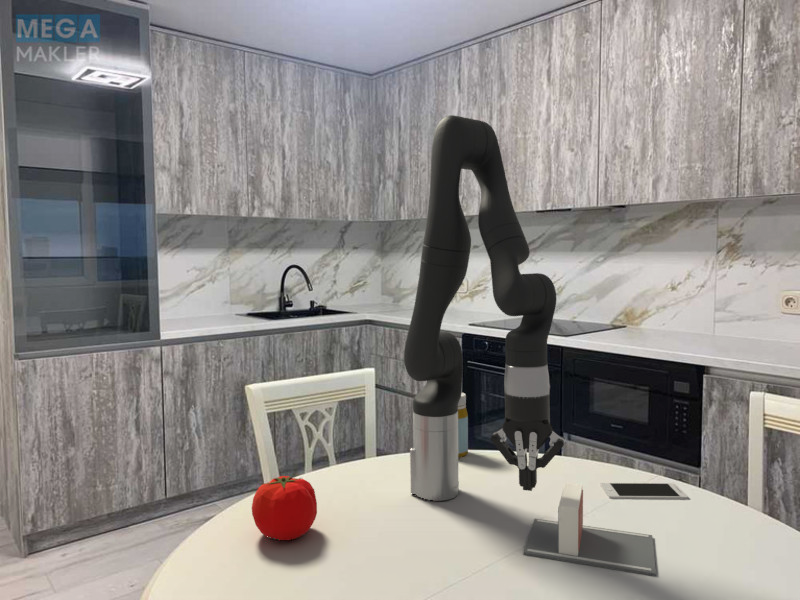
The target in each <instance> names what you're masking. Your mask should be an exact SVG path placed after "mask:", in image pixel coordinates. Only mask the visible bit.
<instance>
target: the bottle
mask: <svg viewBox="0 0 800 600" xmlns="http://www.w3.org/2000/svg"><path fill="white" fill-rule="evenodd" d="M466 400H467V395H466V393H464V392H462V393H461V398H460V400H459V403H458V459H460V458H459V457H461V458H464V457H466V455H468V453H469V439H468V438H469V418H468V417H469V415H468V411H467V410H468V409H467V408H466V407H467V405H466V403H467V401H466Z"/></svg>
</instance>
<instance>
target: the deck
mask: <svg viewBox="0 0 800 600" xmlns="http://www.w3.org/2000/svg"><path fill="white" fill-rule="evenodd" d="M557 508H558V510H557V511H558V512H557V514H558V516H557V518H558V521H557V522H558V548H559V553H561V554H567V555H573V556H578V552H579V548H580V542H581V536H582V529H583V525H584V519H583V518H584V490H583V484H576V483H570V482H569V483H568V482H564V486H563V488H562V491H561V496H560V500H559V504H558V507H557Z"/></svg>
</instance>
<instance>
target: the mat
mask: <svg viewBox="0 0 800 600" xmlns="http://www.w3.org/2000/svg"><path fill="white" fill-rule="evenodd" d="M522 554H523V555H525V556H531V557H538V558H543V559H548V560H549V559H550V560H554V561H555V560H556V561H561V562H568V563H573V564H579V565H586V566H592V567H599V568H604V569H610V570H611V569H612V570H617V571H622V572H629V573H635V574H641V575H645V576H653V577H656V576H657V573H656V560H655V549H654V539H653V535H652V534H647V533H639V532H631V531H624V530H617V529H612V528H605V527H598V526H597V527H596V526H592V525H591V526H590V525H584V524H583V529H582V536H581V542H580V548H579V552H578V556H573V555H567V554H561V553H559V548H558V521H554V520H548V519H540V518H534V519H533V521H532V524H531V527H530V531H529V535H528V537H527V539H526V542H525V545H524V549H523V552H522Z"/></svg>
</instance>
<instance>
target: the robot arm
mask: <svg viewBox="0 0 800 600" xmlns="http://www.w3.org/2000/svg"><path fill="white" fill-rule="evenodd" d="M498 140H499V139H498V137H497V135H496V132H495V130H494V128H493V127H492V126H491V124H489V123H487V122H486V121H482V120H479V119H474V118H470V117H469V118H467V117H465V116H458V115H454V114H453V115H447V116H445V117H443V118H442V119H441V120H439V122H438V124H437V126H436V129H435V131H434V134H433V138H432V145H431V158H430V178H429V179H430V183H429V185H430V186H429V198H428V205H427V206H428V208H427V217H426V223H425V224H426V226H425V231H424V237H423V241H422V249H421V255H420V256H421V257H420V268H419V274H418V282H417V289H416V294H415V299H414V300H415V301H414V307H413V311H412V315H411V320H410V322H409V328H408V331H407V336H406V340H405V345H404V353H403V361H404V368H405V371H406V372H407V375H408V376H409V377H410V378H412V380H414V381H417V382H426V383H425V385H424V387H423V388H422V390H420V391H419V392H418V393H417V394H416V395H415V396H414V397H413V399H412V427H413V430H412V431H413V434H412V435H413V437H412V438H413V442H412V443H413V447H411V448H410V451H409V457H410V458H409V459H410V463H409V464H410V466H409V467H410V472H409V473H410V494H411V493H412V494H416V495H417V496H416V495H415V496H416V497H418V496H419V497H421V498H420V499H422V498H424V499H423V500H425V499H428V500H427V501H430V500H433V501H432V502H443V501H448V500H451V499H454V498H456V497H457V496H458V495H459V492H460V491H459V485H460V484H459V483H460V481H459V458H458V403H459V400H460V398H461V393H462V391H463V390H462V389H463V372H464V371H463V370H464V369H463V368H464V365H463V363H464V358H463V357H464V356H463V350H462V346H461V344H460V341H459V340H458V338H457V337H456V336H455V335H454V334H452V333H451V332H447V331H441V327H442V324H443V323H442V322H443V319H444V316H445V314H446V312H447V309H448V307H449V306H450V304H451V303H452V300H454V298H455V296H456V295H457V293H458V292H459V290H460V289H461V288H460V287H461V286H462V285H463V282H464V281H465V278H466V275H467V271H468V268H469V262H470V255H471V248H472V236H471V232H470V229H469V225H468V223H467V220H466V216H465V214H464V211H463V208H462V204H461V201H460V184H461V183H460V179H461V174H462V172H461V171H462V170H467V171H470V170H471V172H472V173H473V175H474V176H475V178H476V181H477V182H478V185H479V189H480V204H479V210H478V218H477V221H478V223H477V224H478V230H479V233H480V236H481V240H482V242H483V245H484V248H485V251H486V253H487V256H488V258H489V261H490V274H491V283H492V284H491V286H492V293H493V299H494V301H495V304H496V306H497V307H498V309H499V310H500V311H501V312H502V313H503V314H504V315H505V316H506V315H507V316H509V317H519V316H520V317H522V318H521V322H520V325H518V327H516V328H514V329H511V330H510V331H508V332H507V334H506V336H505V342H504V343H505V345H504V346H505V347H504V348H505V349H504V351H505V367H504V368H505V370H504V381H503V382H504V422H503V424H502V426H501V429H499V430H498V431H497V430H495V431H494V432H493V434H492V435H491V436H490V440H491V442H492V443H493V445H494V446H495V447H496V448H497V450H498V451H499V452H500V454H501V455H502V457H503V458H504V459H505V460H506V461H507V463H508V464H509V465H510V466H516V467H517V469H518V484H519V486H520V487H522V490H523V491H527V492H528V491H529V492H532V491H533V489H534V488H536V485H537V484H538V483H537V482H538V479H537V478H538V477H537V476H538V474H537V473H538V469H539V468H542V469H544V468H546V467H547V465H549V463H550V462H551V461H552V460H553V459H554V457H555V456H556V455H557V454H558V452H560V450H562V448H564V445H565V442H566V439H565V437H564V436H560V435H558V434H557V433H556V432H555V431H554V428H553V427H554V426H553V425H552V422H551V417H550V413H551V412H550V411H551V410H550V406H551V405H550V390H551V384H550V374H549V366H548V338H549V335H550V331H551V329H552V323H553V319H554V315H555V311H556V306H557V291H556V287H555V285H554V283H553V281H552V279H551V278H550V277H549V276H548V275H546V274H543V273H540V272H539V273H537V272H536V273H521V272H520V269H519V266H520V265H522V264H523V263H525V262H526V261H527V260H528V258H529V256H530V254H531V253H530V246H529V244H528V241H527V239H526V236H525V234H524V231H523V229H522V226H521V224H520V221H519V219H518V216H517V214H516V210H515V209H514V206H513V201H512V198H511V194H510V191H509V186H508V181H507V177H506V172H505V168H504V162H503V159H502V153H501V149H500V144H499V141H498ZM507 438H508V439H509V441H510V442H511V444H512V445H513V447H515V449H516V453H515V451H514V450H513V449H512V448H511V446H510V444H509V443H508V442H507ZM549 438H550V441H549V446H550V447H549V448H548V449H547V450H546V451H545V453H543V455H542V456H540V457H539V449H541V448H542V447H543V445H544V444H546V442H547V441H548V440H549ZM419 497H418V498H419Z"/></svg>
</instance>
